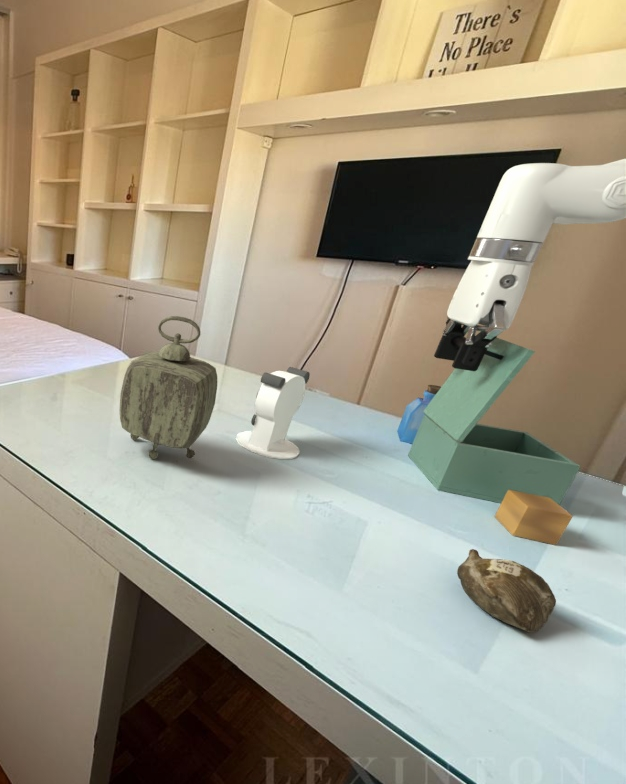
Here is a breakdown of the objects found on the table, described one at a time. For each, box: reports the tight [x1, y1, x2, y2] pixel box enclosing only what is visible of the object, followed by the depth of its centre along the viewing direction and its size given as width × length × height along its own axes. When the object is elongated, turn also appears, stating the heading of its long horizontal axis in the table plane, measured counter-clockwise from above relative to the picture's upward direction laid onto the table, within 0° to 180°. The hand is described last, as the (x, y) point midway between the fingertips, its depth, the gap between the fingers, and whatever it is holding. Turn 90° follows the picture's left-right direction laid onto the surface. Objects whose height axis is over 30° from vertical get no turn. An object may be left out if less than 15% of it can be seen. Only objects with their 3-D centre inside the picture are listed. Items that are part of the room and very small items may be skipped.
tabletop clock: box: [119, 315, 218, 460], centre depth 78 cm, size 14×9×25 cm, turn 57°
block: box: [494, 490, 574, 546], centre depth 67 cm, size 5×5×5 cm
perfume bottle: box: [396, 384, 442, 445], centre depth 95 cm, size 6×6×12 cm
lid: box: [423, 336, 536, 442], centre depth 77 cm, size 16×14×6 cm
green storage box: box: [407, 415, 582, 506], centre depth 79 cm, size 16×14×9 cm
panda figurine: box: [235, 366, 311, 460], centre depth 87 cm, size 12×11×15 cm
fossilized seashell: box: [456, 548, 557, 633], centre depth 52 cm, size 8×7×10 cm
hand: (454, 363), depth 76 cm, fingers closed on lid, 6 cm apart
